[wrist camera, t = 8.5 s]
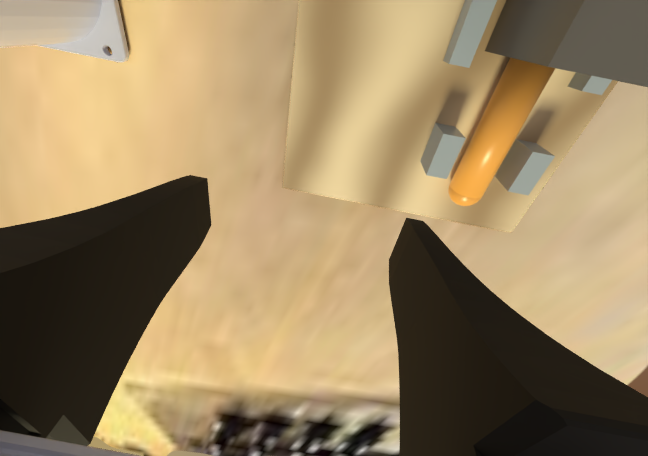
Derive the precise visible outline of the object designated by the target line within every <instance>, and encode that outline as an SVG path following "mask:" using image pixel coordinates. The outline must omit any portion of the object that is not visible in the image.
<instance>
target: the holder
mask: <svg viewBox="0 0 648 456" xmlns="http://www.w3.org/2000/svg"><path fill="white" fill-rule="evenodd" d="M496 2H497V0H465V2H464V4H463V7H462V10H461V13H460V16H459V18H458V21H457V24H456V27H455V29H454V32H453V35H452V38H451V41H450V43H449V46H448V49H447V52H446V54H445V57H444V60H443V61H444V62H446V63H448V64H452V65H457V66H462V67H467V68H469V67H470V65H471V62H472V60H473V57H474V55H475V53H476V50H477V48H478V45H479V43H480V41H481V38H482V36H483V33H484V31H485V28H486V26H487V24H488V21H489V19H490V16H491V14H492V11H493V9H494V7H495V4H496ZM611 81H612V80H611V79H606V78H601V77H596V76H591V75H586V74H581V73H575V75H574V76H573V78H572V80H571V81H570V83H569V85H568V86H567V87H570V88H574V89H577V90H580V91H584V92H589V93H593V94H598V95H602V94H603V93H604V91H605V90H606V88H607V87H608V85H609V84H610V83H611Z"/></svg>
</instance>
